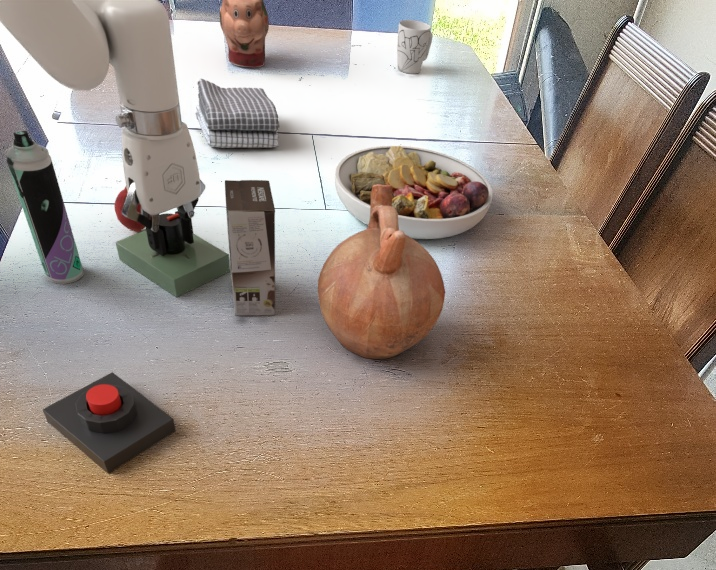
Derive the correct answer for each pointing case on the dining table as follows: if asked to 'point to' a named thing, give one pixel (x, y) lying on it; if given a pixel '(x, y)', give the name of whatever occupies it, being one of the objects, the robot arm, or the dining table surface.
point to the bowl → (415, 189)
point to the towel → (236, 117)
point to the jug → (380, 286)
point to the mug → (413, 45)
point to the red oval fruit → (123, 219)
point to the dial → (172, 233)
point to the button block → (110, 424)
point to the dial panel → (174, 263)
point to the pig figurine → (245, 31)
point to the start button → (103, 399)
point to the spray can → (44, 208)
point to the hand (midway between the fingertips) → (172, 244)
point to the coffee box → (251, 245)
